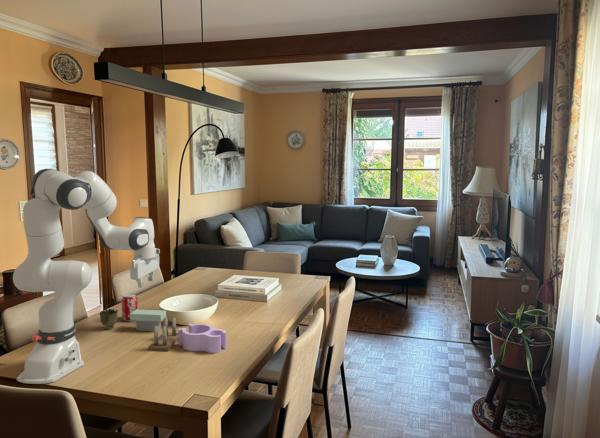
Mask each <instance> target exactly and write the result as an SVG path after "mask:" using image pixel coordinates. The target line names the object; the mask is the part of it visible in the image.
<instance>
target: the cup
mask: <svg viewBox="0 0 600 438" xmlns="http://www.w3.org/2000/svg"><path fill="white" fill-rule="evenodd" d="M99 317H100V322H101V324H102V326H104V329H106V330H112V329H114V326H115V324H116V323H117V321H118V309H114V308H113V309H112V308H109V309H105V310H104V309H103V310H101V311H100V312H99Z"/></svg>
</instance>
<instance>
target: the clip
mask: <svg viewBox="0 0 600 438" xmlns="http://www.w3.org/2000/svg"><path fill="white" fill-rule="evenodd" d="M177 333H178V338H179V340H178V346H182V348H183V349H184V350H186V351H191V352H206V353H209V354H219V352H221V353H222V349H223V348H224V349H223V350H227V349H228V346H227V345H228V344H227V342H228V341H227V340H228V339H227V335H228V334H227V331H226V330H225V329H221V328H215V327H214V326H213V325H211V324H209V323H190V322H189V323H188V331H187V328H186V327H180V328H178V329H177ZM221 346H222V347H221ZM226 348H227V349H226Z"/></svg>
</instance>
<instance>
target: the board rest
mask: <svg viewBox="0 0 600 438" xmlns="http://www.w3.org/2000/svg"><path fill="white" fill-rule="evenodd" d="M135 324H136V326H135V327H136V331H142V332H143V331H145V332H146V331H147V332H148V331H149V332H154V326H158V332H160V331H161V330H162V321H161V322H156V321H135Z"/></svg>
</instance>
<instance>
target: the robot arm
mask: <svg viewBox="0 0 600 438" xmlns="http://www.w3.org/2000/svg"><path fill="white" fill-rule="evenodd" d="M30 195H31V197H32V198H31V199H29V200H28V201H26V202H25V203H24V204H23V208H22V219H23V220H22V221H23V228H24V229H23V230H24V233H25V238H26V242H27V243H26V244H27V249H28V250H27V255H26V257H25V259H24V261H23V262H21V263H20V264H19V265H18V266H17V267H16V268H15V270H14V272H13V274H12V281H13V285H14V286H15V287H16V288H17V289H18V291H22V292H23V291H24V292H29V293H45V292H47V293H48V292H54V297H53V298H52V299H50V300H48V301H46V302H44V303H43V304H42V305H40V307H39V309H38V322H39V329H38V332H37V335H36V334H34V335H33V334H32V337H31V341H32V342H36V344H35V345H34V347H33V348H32V350H31V352H30V353H29V354H28V356H27V358H26V359H25V362H24V368H23V369H24V370H23V371H22V372H21V373H20V374H19V375H18V376H17V377H16V381H18V382H19V383H22V384H28V385H29V384H32V385H43V384H50V383H54V382H56V381H58V380H60V379H62V378H63V377H65V376H67V375H69V374H70V373H72V372H73V371H76V370H77V369H79V368H81V367H83V366H84V365H85V362H84V360H83V359H82V356H81V350H80V349H81V348H80V343H79V342H78V340H77V338H76V331H77V330H76V328H77V327H76V324H75V323H74V306H75V302H76V299H77V297H78V296H79V294H80V293H81V292H82V291H83V290H84V289H86V288H87V287H88V286H89V285H90V283H91V281H92V277H93V271H92V268H91V266H90V265H89V263H88V262H85V261H80V260H74V259H71V260H68V259H67V260H52V259H51V258H53V257H55V256H57V255H59V254H60V253H61V252H62V251H63V250H64V247H65V238H64V233H63V228H62V224H61V218H60V212H61V209H62V208H63V209H65V210H69V211H72V210H73V211H75V210H76V211H77V210H79V209H81V208H82V207H84V208H85V214H86V217H87V219H88V220H89V222H90V224H91V226H92V227H93V229H94V230H95V232H96V233H97V236H98V237H99V240H100V243H101V245H102V246H103V247H104V248H105V249H106V250H108V251H109V250H111V251H112V250H116V251H117V250H120V251H132V252H133V260H132V262H131V264H130V269H129V270H130V273H129V274H130V275H129V276H130V279H131V280H134V281H135V280H136V281H135V282H136V283H137V287H138V288H143V287H144V282H143V278H144V277H146V276H148V277H147V279H148V282H152V281H154V276H155V271H156V270H158V269H159V267H160V253H161V250H160V248H156V245H155V242H154V239H155V226H154V222H153V219H152V218H150V217H147V216H145V217H144V216H143V217H142V216H135V217H134V218H133V221H132V223H131V224H130V225H129V226H127V227H126V226H117V225H113V224H111V222H109V220H108V218H107V217H109V216H110V215H111V214H113V212H115V210H116V208H117V205H118V199H117V197H116V195H115V193H114V192H113V190H112V189H111V188H110V186H109V185H108V184H107V183H106V181H104V180H103V179H102V178H101V177H100V176H99V175H98V174H97V173H95V172H93V171H91V170H85V171H82V172H81V171H80V172H79V173H78V174H76V175H75V176H71V175H70V174H68V173H65V172H63V171H60V170H57V169H55V168H44V169H43V168H42V169H40V170H38V171H37V172H36V173H35V174H34V175H33V177H32V180H31V190H30Z"/></svg>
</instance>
